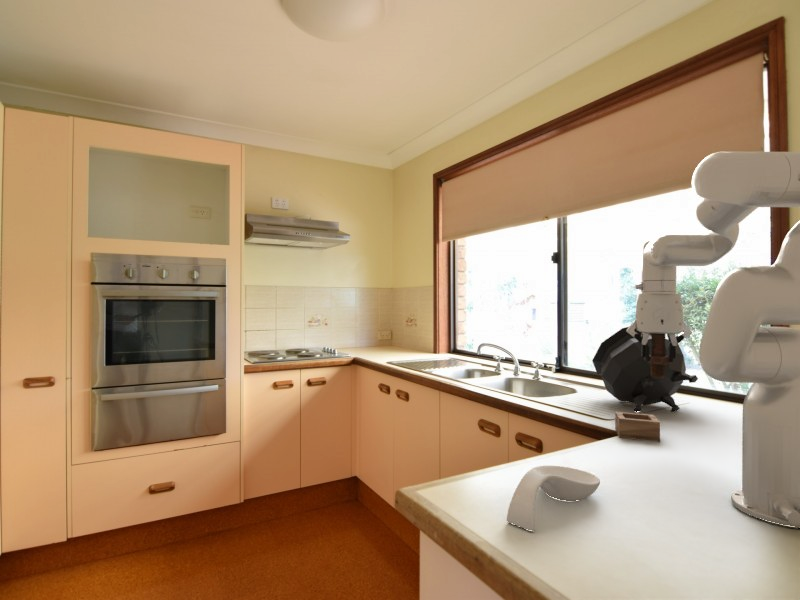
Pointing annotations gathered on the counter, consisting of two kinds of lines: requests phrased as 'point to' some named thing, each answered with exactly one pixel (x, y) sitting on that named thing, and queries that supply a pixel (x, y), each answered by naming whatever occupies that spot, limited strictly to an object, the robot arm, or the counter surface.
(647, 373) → the black cauldron
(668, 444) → the counter surface
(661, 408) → the counter surface
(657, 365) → the bolt
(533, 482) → the spoon rest
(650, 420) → the holder
